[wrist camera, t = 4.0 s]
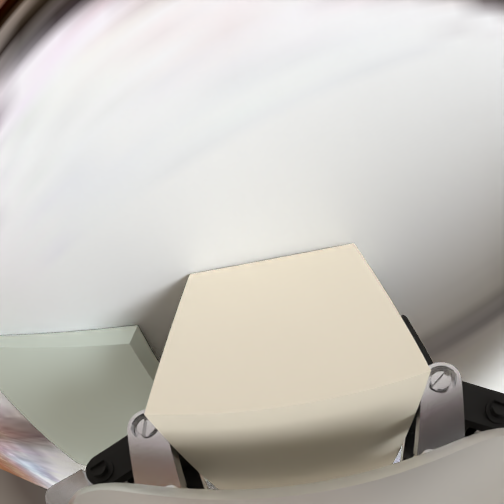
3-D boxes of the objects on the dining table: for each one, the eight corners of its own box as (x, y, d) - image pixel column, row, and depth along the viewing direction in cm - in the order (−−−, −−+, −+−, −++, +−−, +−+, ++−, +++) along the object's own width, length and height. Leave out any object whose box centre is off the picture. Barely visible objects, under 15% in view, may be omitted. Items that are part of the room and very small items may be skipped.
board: (137, 325, 12) (129, 343, 11) (232, 468, 19) (231, 480, 18) (-27, 335, 13) (-34, 345, 12) (80, 454, 20) (77, 463, 19)
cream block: (353, 243, 10) (430, 370, 5) (356, 357, 13) (389, 469, 7) (189, 274, 11) (143, 414, 5) (231, 378, 13) (223, 493, 8)
